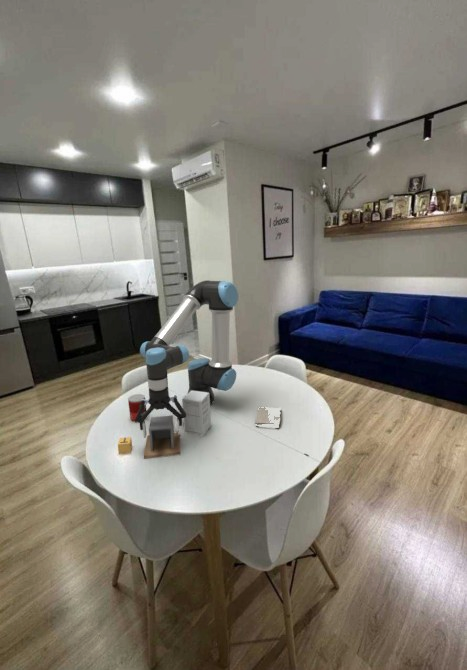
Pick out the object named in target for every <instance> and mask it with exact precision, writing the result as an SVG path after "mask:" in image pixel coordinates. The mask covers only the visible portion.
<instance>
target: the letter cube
mask: <svg viewBox="0 0 467 670" xmlns="http://www.w3.org/2000/svg"><path fill="white" fill-rule="evenodd" d="M132 448H133V441H132V436H127V437H126V436H125V437H119V439H118V442H117V450H118V455H122V454H131V452H132Z"/></svg>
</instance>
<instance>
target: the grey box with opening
mask: <svg viewBox="0 0 467 670" xmlns="http://www.w3.org/2000/svg"><path fill="white" fill-rule="evenodd" d="M148 432H149V433H148V435H149V436H150V447H151V451H153V447H154V440H155V439H161V438H170V437H171V445H172V449H174V433H175V427H174V414H172V415H162V416H151V417H150V421H149V427H148Z"/></svg>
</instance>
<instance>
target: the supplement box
mask: <svg viewBox="0 0 467 670" xmlns="http://www.w3.org/2000/svg"><path fill="white" fill-rule="evenodd" d="M187 393H188V392H187ZM181 400H182V408H183V409H184V411H185V412H186V418H183V427H184V433H185V434H191V435H197V436H201V437H203V436H204V435H205V434H206V433H207V432H208V429H210V427H211V426H212V423H211V422H212V421H211V417H212V416H211V404H210V396H209V393H207V392H200V391H192V390H191V391H190V392H189V393H188V394H186V395H185V396H184V397H182V399H181Z"/></svg>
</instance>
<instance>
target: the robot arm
mask: <svg viewBox="0 0 467 670" xmlns="http://www.w3.org/2000/svg"><path fill="white" fill-rule="evenodd" d="M182 299H183V300H182V301H181V302H180V304H179V305H178V306H177V308H176V309H175V310H174V312H173V313H172V314H171V316H170V317H169V318H168V319H167V320H166V322H165V323H164V324H163V325H162V327H160V329H159V331H158V332H157V333H156V334H155V335H154V337H152V339H151V341H150V340H149V341H145V342H143V343H142V344H141V346H140V348H139V353H140V355H141V356H142V357H143V358H145V365H146V372H147V373H146V374H147V385H148V386H147V387H148V395H149V396H148V397H149V398H148V399H147V398H146V397H145V398H143V399H142V402H141V407H140V409H139V411H138V413H137V415H136V418H135V422H134V423H138V424H139V429H140V431H143V439H147V425H146V419H147V418H148V416H149V415H151V413H152V412H153V411H154V410H156V411H157V410H164V409H166V410H167V411H169V412H170V413H172V415H173V416H174V417H176V423H177V432H178V435H179V434H180V435H181V429H180V427H182V426H183V419H184V418H186V412H185V411H184V409H183V405H181V403H180V401H179V400H178V396H177V395H174V396H171V397H170V393H169V392H170V391H169V380H168V370H171V369H173V368H175V367H177V366H180V365H183V364H184V363H186V362H188V360H189V359H190V351H189V349H188V348H187V347H186V345H181V344H180V345H176V346H171V344H172V342H173V341H174V339H176V337H177V336H178V334H179V333H180V332H181V331H182V329H183V328H184V326H185V325H186V324H187V323H188V321H189V320H190V319H191V317H192V316H193V315H194V314H195V312H196V311H197V310H200V309H201V308H202V306H205V305H207V306H208V310H209V311H210V313H211V360H210V358H205V357H204V358H203V357H202V358H196V359H193V360H191V361H189V362H188V365H187V367H188V368H187V374H188V375H187V376H188V391H187V394H188V393H189V392H190V391H191V390H192V391H200V392H207V393H209V396H210V405H212V404H213V403H214V402H215V394H214V391H213V389H216V390H218V391H223V392H224V391H225V392H226V391H229V390H231V389H232V388H233V387H234V385H235V383H236V379H237V371H236V370H235V369H234V368H232V367H233V366H232V365H233V363H232V362H231V361H230V320H231V319H230V317H231V316H230V314H231V313H232V311H233V310H234V307H235V306H236V305H238V304H237V303H238V301H239V292H238V289H237V287H236V286H235V284H234V283H233V282H231V281H226V280H222V281H221V280H203V281H200V282H198V283H196V284H195V285H193V286H192V287H191V288H190V289H189V290H187V292H185V294H184V296H183V298H182ZM212 388H213V389H212ZM187 394H186V395H187ZM213 401H214V402H213ZM171 402H172V403H174V405H175V407H176V408H177V409H176V408H175V407H174V406H172V405H171ZM212 402H213V403H212ZM147 404H149V405H150V406H149V407H148V408H147V409H146V412H145V413H144V415H143V416H142V417H141V418H139V417H140V415H141V413H142V411H143V409H144V405H146V406H147Z"/></svg>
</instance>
